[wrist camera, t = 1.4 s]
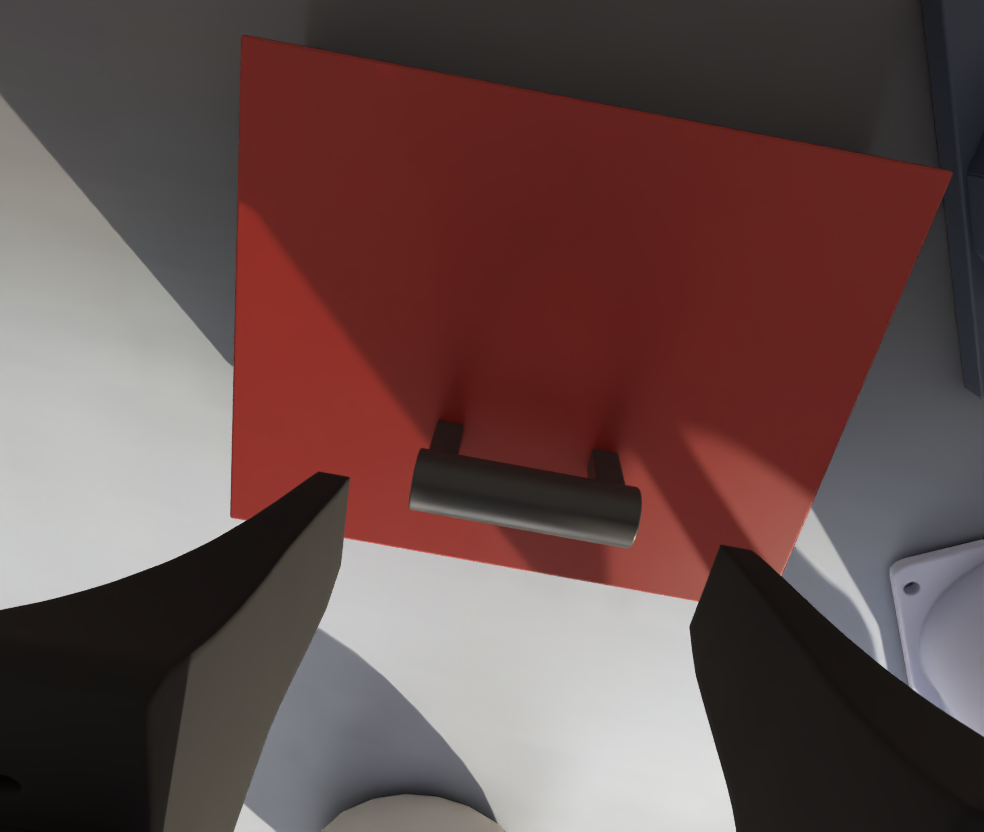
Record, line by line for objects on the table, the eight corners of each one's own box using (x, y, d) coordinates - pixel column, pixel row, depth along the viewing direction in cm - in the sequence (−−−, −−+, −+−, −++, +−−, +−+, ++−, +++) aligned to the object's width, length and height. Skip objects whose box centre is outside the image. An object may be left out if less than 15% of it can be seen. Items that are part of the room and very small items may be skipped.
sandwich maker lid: (759, 600, 21) (804, 703, 17) (237, 506, 20) (175, 592, 17) (940, 168, 16) (1056, 190, 12) (250, 36, 15) (166, 19, 12)
